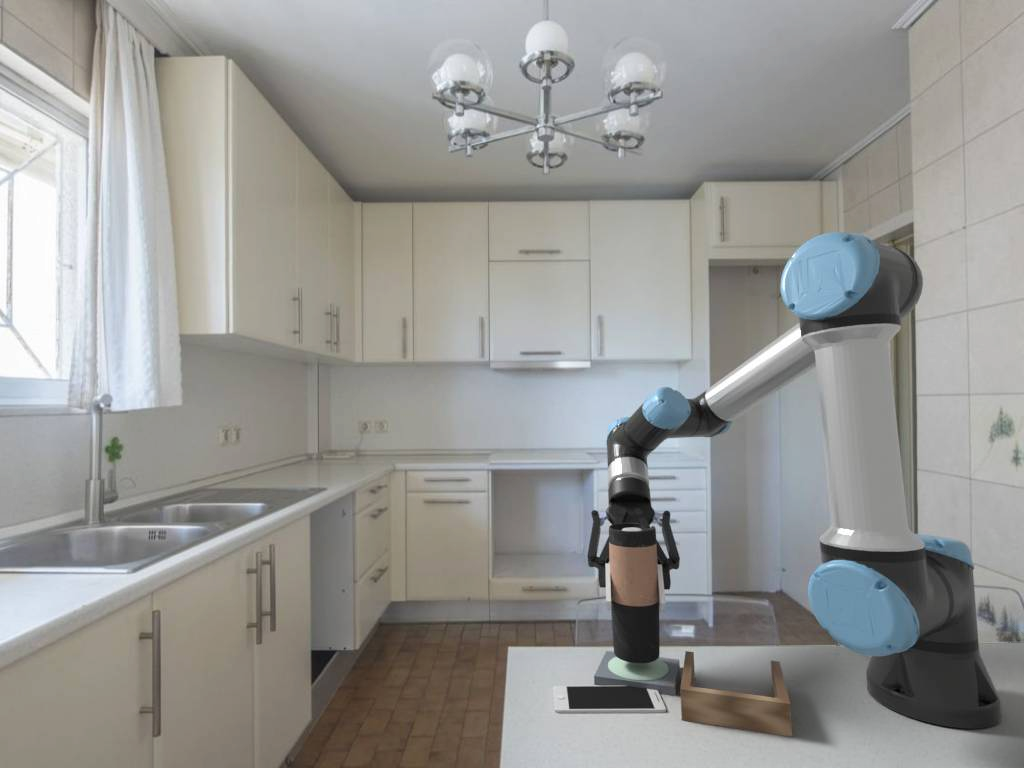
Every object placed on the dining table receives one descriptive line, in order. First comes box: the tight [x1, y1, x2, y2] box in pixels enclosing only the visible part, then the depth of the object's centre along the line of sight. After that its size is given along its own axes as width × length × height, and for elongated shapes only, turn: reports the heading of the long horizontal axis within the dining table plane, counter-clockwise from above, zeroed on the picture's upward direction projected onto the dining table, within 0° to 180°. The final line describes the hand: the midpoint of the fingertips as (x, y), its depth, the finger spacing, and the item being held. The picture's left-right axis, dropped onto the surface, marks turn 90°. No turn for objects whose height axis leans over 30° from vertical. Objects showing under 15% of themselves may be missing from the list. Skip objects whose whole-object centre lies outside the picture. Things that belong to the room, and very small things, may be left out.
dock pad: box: [593, 650, 681, 696], centre depth 89 cm, size 12×10×1 cm
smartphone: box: [552, 685, 667, 714], centre depth 81 cm, size 7×15×1 cm, turn 88°
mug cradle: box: [679, 650, 793, 738], centre depth 79 cm, size 13×13×4 cm
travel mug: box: [608, 523, 661, 663], centre depth 90 cm, size 8×8×20 cm
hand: (635, 606), depth 86 cm, fingers closed on travel mug, 7 cm apart
